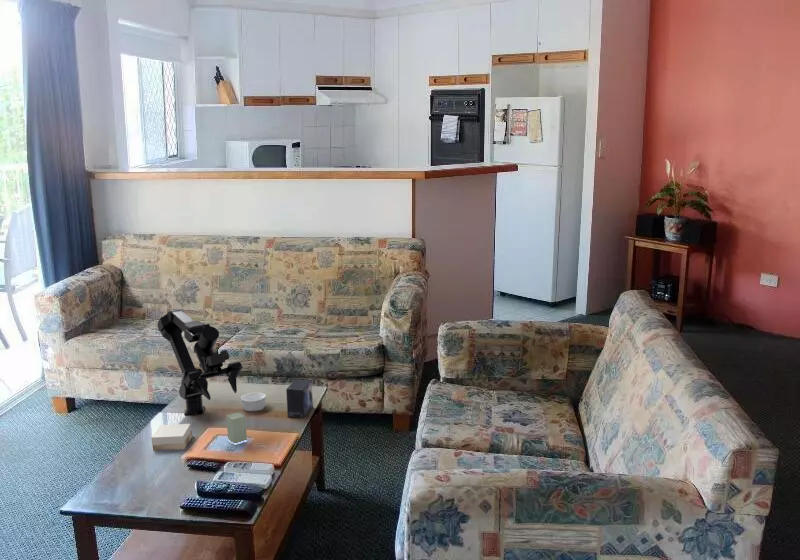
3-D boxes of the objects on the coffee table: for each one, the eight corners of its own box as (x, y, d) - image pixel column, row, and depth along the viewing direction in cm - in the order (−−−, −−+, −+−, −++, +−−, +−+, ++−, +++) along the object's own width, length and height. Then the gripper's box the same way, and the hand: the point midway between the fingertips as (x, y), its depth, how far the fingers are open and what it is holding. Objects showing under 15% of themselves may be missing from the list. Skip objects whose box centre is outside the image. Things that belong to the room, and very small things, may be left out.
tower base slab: (162, 439, 248) (161, 432, 248) (192, 438, 248) (191, 431, 248) (153, 452, 239) (152, 445, 238) (184, 451, 239) (183, 443, 238)
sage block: (228, 441, 243) (226, 415, 241) (241, 437, 246) (238, 412, 244) (234, 445, 240) (232, 419, 238) (247, 442, 242) (245, 415, 240)
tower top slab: (160, 432, 248) (159, 425, 247) (191, 430, 248) (190, 423, 248) (152, 444, 238) (151, 437, 238) (183, 443, 238) (183, 436, 238)
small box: (304, 418, 261) (302, 389, 258) (286, 417, 262) (285, 389, 260) (314, 407, 271) (312, 379, 269) (297, 406, 272) (295, 378, 270)
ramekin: (271, 405, 274) (270, 394, 273) (254, 414, 266) (253, 402, 265) (253, 401, 278) (252, 390, 277) (236, 409, 271) (235, 398, 270)
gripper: (185, 349, 242) (201, 390, 236) (238, 338, 253) (255, 377, 247) (178, 367, 250) (194, 407, 243) (229, 355, 261) (246, 393, 254)
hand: (223, 395), depth 247 cm, fingers open, 9 cm apart
